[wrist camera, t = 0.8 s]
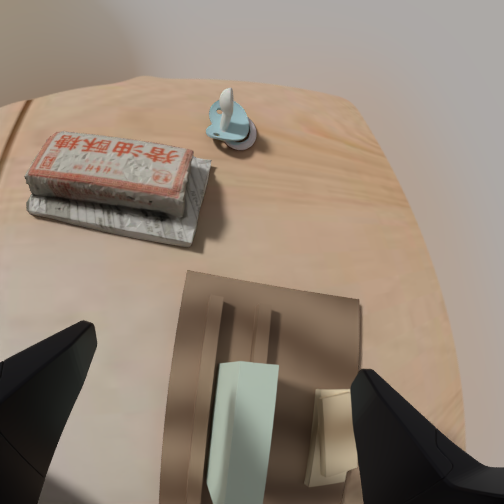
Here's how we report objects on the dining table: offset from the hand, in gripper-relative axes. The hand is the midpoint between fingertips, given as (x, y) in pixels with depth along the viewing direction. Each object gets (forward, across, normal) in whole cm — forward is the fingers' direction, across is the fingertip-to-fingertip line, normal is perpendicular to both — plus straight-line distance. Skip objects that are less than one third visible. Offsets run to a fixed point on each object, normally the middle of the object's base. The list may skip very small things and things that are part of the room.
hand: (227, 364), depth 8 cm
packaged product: (+20, +13, +1) cm, 23 cm away
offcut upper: (+5, -10, +13) cm, 17 cm away
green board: (+5, -1, +13) cm, 14 cm away
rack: (+6, -5, +14) cm, 16 cm away
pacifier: (+28, +3, -6) cm, 29 cm away
